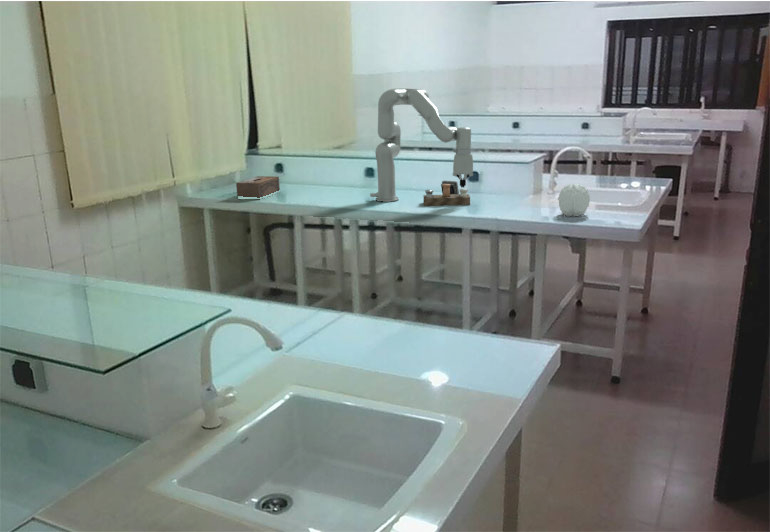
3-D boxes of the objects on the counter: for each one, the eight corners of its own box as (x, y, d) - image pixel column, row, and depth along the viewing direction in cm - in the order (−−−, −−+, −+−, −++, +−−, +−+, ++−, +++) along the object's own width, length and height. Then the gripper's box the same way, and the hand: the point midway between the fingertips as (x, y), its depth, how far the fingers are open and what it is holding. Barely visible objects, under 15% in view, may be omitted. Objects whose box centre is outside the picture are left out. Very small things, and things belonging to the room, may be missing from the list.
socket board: (423, 206, 340) (423, 198, 339) (423, 202, 350) (423, 195, 349) (470, 204, 339) (470, 197, 338) (468, 201, 349) (468, 194, 348)
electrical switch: (459, 196, 363) (458, 180, 360) (455, 199, 359) (454, 182, 356) (444, 195, 368) (443, 179, 365) (440, 198, 364) (439, 181, 361)
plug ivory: (459, 203, 342) (459, 190, 340) (459, 202, 346) (459, 188, 344) (467, 203, 342) (467, 189, 340) (467, 201, 346) (467, 188, 344)
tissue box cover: (258, 192, 403) (257, 176, 400) (280, 192, 398) (278, 176, 396) (237, 200, 379) (236, 182, 376) (259, 200, 375) (258, 183, 372)
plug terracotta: (442, 198, 342) (442, 185, 340) (442, 197, 346) (442, 183, 344) (450, 198, 342) (450, 185, 340) (450, 196, 346) (450, 183, 344)
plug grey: (425, 204, 343) (425, 191, 341) (425, 202, 347) (425, 189, 345) (433, 204, 343) (433, 190, 341) (433, 202, 347) (433, 189, 345)
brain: (557, 229, 311) (556, 203, 298) (560, 202, 321) (559, 176, 308) (588, 230, 306) (588, 204, 293) (590, 202, 317) (591, 176, 304)
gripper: (449, 152, 334) (448, 188, 339) (478, 152, 333) (477, 188, 338) (448, 151, 341) (447, 186, 346) (477, 150, 340) (476, 185, 345)
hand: (462, 187), depth 342 cm, fingers closed
